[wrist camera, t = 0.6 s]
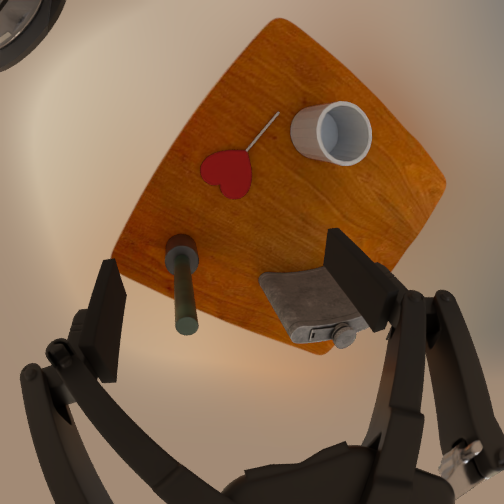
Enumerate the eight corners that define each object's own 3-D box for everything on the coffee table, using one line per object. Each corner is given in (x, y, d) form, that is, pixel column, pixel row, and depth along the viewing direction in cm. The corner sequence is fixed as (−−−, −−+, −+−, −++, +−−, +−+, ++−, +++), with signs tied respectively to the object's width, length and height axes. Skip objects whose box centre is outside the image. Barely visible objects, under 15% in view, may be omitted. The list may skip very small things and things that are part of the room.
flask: (330, 281, 53) (384, 337, 37) (258, 291, 50) (295, 360, 34) (332, 264, 52) (391, 317, 36) (258, 272, 49) (298, 339, 33)
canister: (288, 105, 39) (314, 99, 31) (338, 107, 41) (370, 104, 33) (291, 160, 43) (318, 167, 35) (340, 158, 44) (372, 165, 36)
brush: (163, 236, 42) (156, 309, 24) (193, 231, 43) (207, 301, 25) (169, 265, 44) (168, 349, 26) (198, 260, 45) (215, 341, 27)
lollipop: (257, 95, 38) (193, 173, 40) (259, 94, 37) (194, 174, 39) (296, 129, 41) (236, 204, 43) (299, 129, 40) (237, 205, 43)
